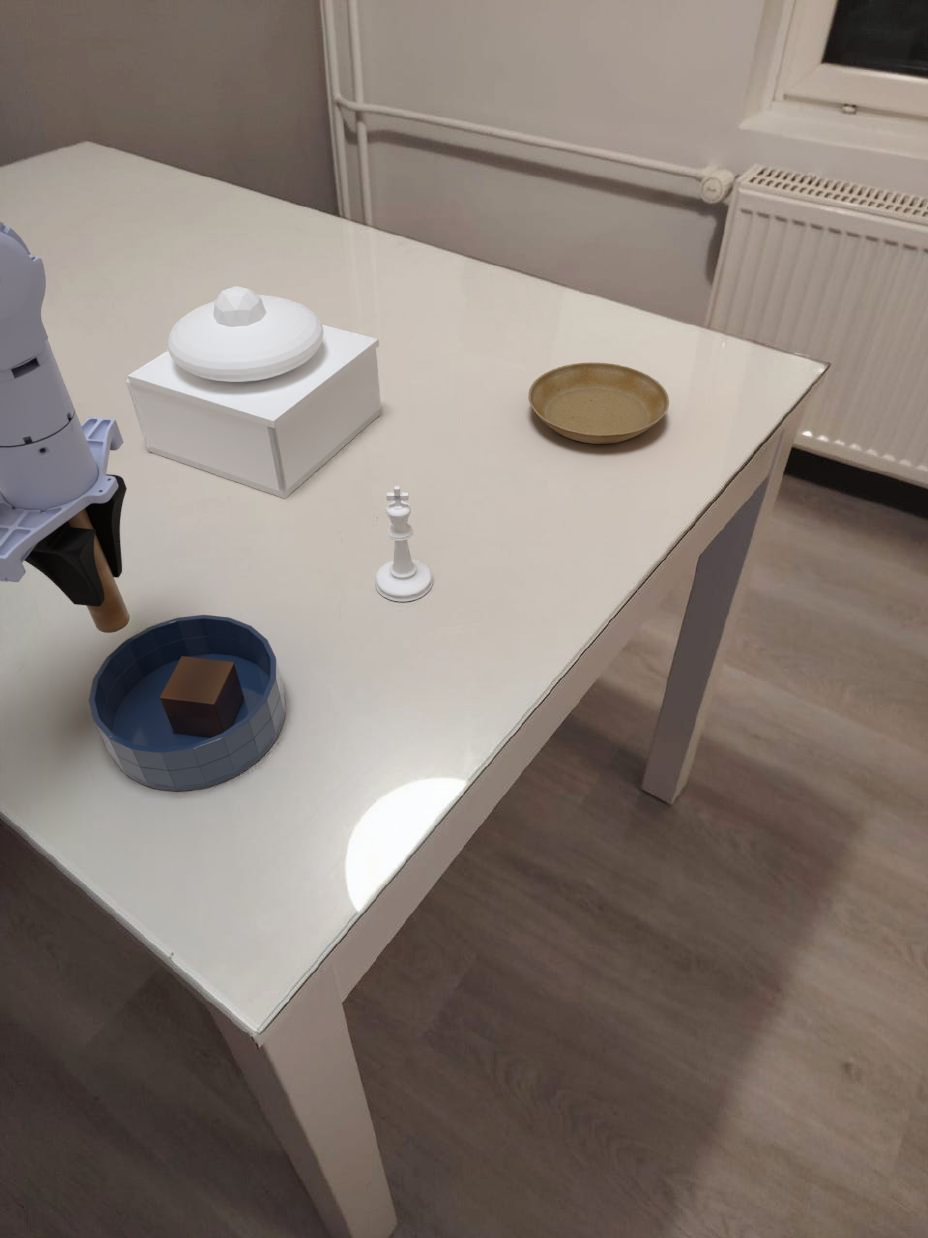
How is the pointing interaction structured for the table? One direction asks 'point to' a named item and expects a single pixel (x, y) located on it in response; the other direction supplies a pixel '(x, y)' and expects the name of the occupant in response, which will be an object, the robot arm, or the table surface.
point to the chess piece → (402, 557)
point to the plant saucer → (598, 402)
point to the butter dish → (256, 391)
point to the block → (202, 696)
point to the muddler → (104, 586)
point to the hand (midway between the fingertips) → (98, 587)
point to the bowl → (141, 723)
